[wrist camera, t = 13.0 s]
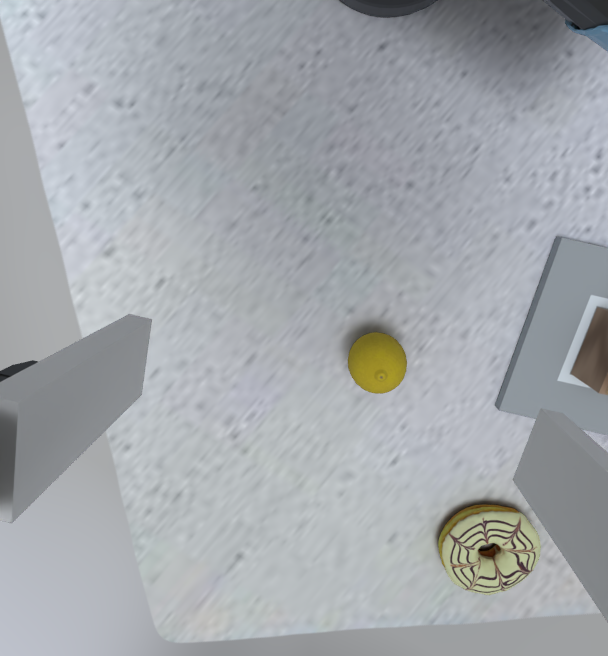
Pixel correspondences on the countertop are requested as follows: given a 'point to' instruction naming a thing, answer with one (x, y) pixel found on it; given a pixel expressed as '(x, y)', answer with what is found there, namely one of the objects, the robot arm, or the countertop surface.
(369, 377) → the lemon
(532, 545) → the decorated donut
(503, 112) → the countertop surface
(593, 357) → the walnut base
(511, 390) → the grey square plate
